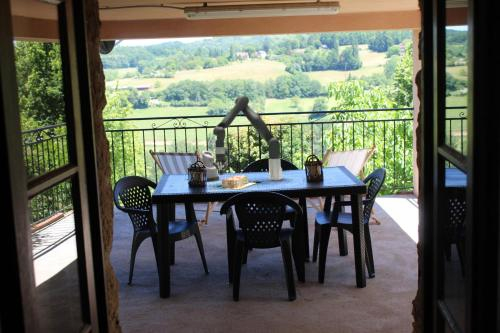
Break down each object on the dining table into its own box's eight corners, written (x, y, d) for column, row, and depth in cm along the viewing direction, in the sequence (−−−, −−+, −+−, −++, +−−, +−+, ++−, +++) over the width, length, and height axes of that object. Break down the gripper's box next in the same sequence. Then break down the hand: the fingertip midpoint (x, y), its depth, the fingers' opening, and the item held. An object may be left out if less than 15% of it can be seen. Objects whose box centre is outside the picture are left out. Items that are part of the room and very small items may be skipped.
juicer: (224, 179, 565) (222, 150, 561) (210, 182, 553) (208, 152, 550) (199, 177, 585) (197, 148, 581) (185, 179, 573) (183, 150, 570)
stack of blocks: (238, 174, 543) (251, 175, 535) (238, 182, 544) (251, 183, 536) (221, 179, 526) (234, 180, 518) (221, 187, 527) (234, 188, 519)
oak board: (256, 183, 538) (256, 182, 538) (240, 189, 516) (240, 188, 516) (240, 182, 545) (240, 182, 545) (223, 188, 523) (223, 188, 522)
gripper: (230, 152, 534) (231, 174, 537) (215, 152, 541) (216, 173, 543) (225, 153, 528) (226, 175, 530) (210, 153, 534) (211, 175, 537)
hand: (221, 174), depth 537 cm, fingers closed
